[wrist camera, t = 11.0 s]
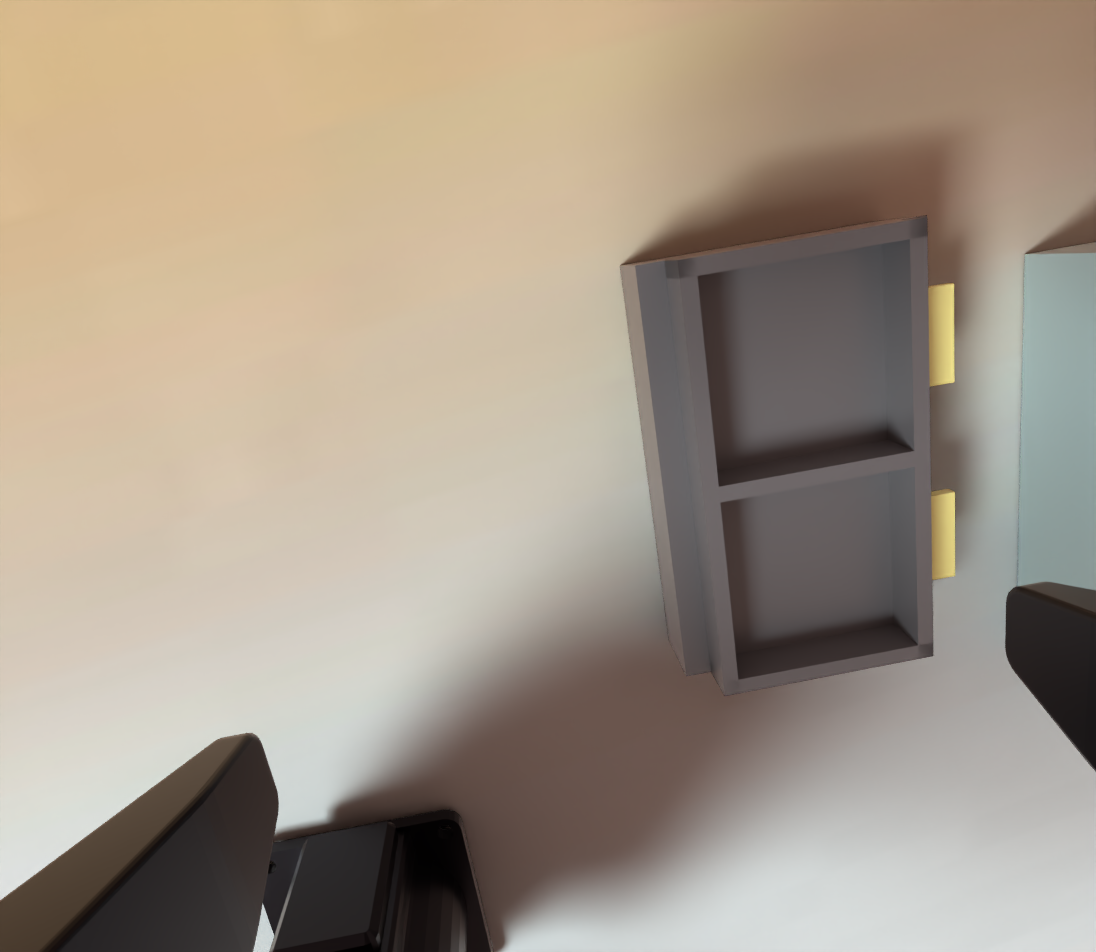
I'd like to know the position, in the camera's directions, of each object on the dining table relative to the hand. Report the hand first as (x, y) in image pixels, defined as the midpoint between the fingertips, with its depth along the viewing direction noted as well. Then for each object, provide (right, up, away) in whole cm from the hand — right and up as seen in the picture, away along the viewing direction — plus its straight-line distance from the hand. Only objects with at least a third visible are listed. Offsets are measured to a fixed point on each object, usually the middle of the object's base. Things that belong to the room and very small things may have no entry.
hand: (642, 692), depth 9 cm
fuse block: (+5, +3, +12) cm, 13 cm away
